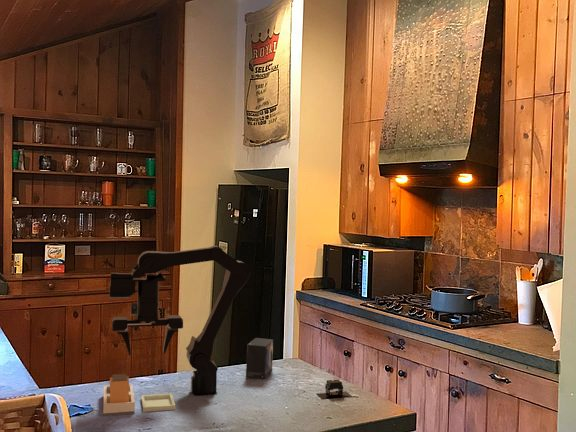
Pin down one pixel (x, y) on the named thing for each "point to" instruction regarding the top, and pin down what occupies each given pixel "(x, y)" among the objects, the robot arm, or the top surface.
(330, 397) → the dark boxy piece
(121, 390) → the plug
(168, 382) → the top surface
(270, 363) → the small box
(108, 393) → the cream slotted rack
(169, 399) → the tray
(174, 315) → the robot arm
